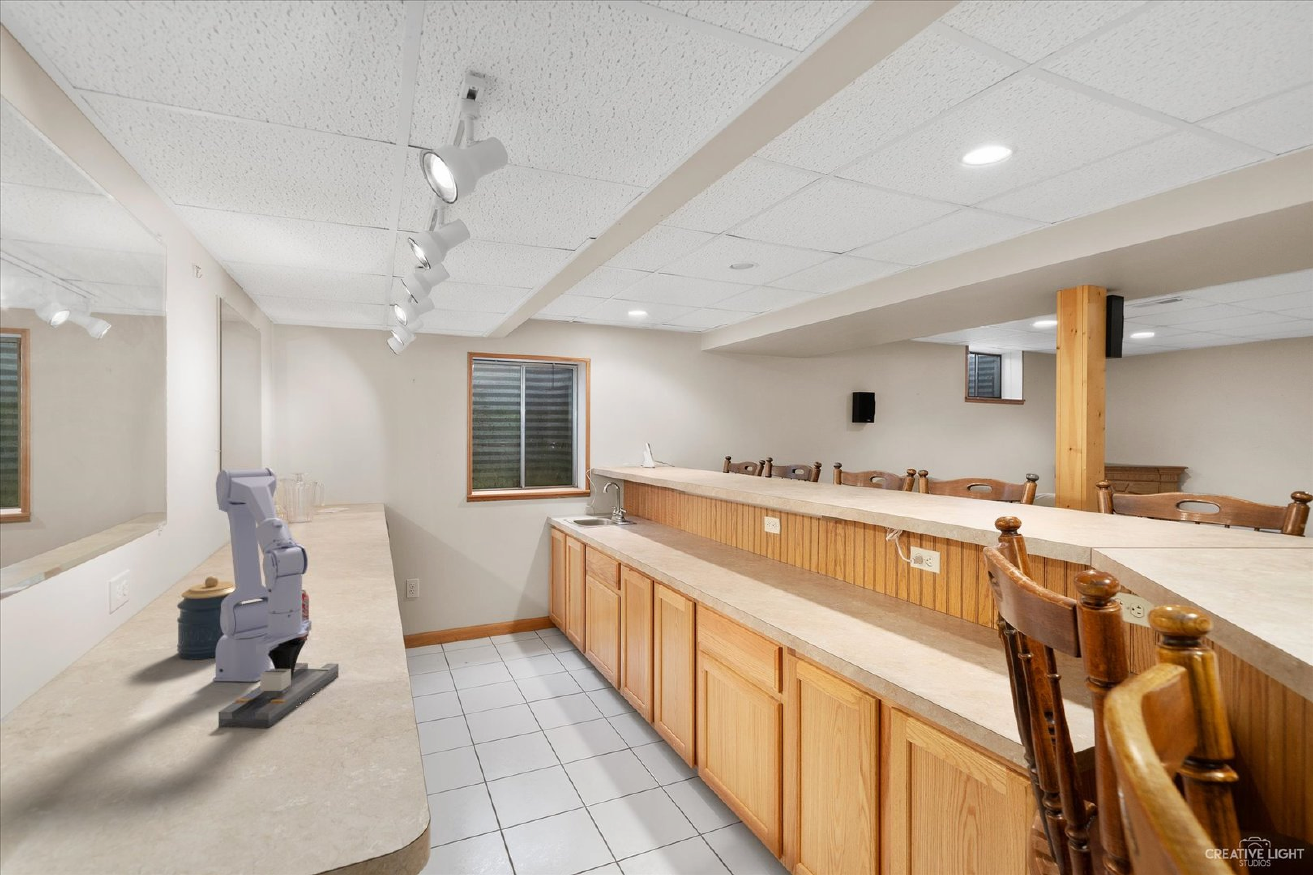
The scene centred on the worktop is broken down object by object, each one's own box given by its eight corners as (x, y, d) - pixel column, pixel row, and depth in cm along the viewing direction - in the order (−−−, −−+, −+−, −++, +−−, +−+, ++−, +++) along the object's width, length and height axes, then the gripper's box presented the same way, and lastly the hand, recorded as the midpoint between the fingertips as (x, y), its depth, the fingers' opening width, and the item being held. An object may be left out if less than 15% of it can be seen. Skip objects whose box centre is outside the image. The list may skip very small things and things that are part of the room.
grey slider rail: (218, 727, 109) (218, 710, 109) (296, 675, 132) (296, 661, 132) (268, 727, 109) (268, 711, 109) (338, 676, 132) (338, 662, 132)
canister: (179, 665, 138) (179, 585, 138) (175, 649, 148) (174, 575, 147) (248, 651, 146) (248, 577, 146) (240, 637, 156) (240, 567, 156)
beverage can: (295, 644, 151) (295, 596, 151) (273, 643, 152) (273, 594, 152) (314, 636, 157) (314, 589, 157) (293, 634, 158) (293, 588, 158)
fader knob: (260, 698, 117) (260, 674, 117) (270, 692, 120) (270, 668, 120) (281, 699, 117) (281, 674, 117) (290, 692, 120) (290, 668, 120)
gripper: (282, 620, 114) (282, 694, 114) (326, 599, 128) (325, 664, 128) (244, 620, 114) (244, 694, 114) (292, 599, 128) (292, 664, 128)
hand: (285, 678), depth 121 cm, fingers closed
